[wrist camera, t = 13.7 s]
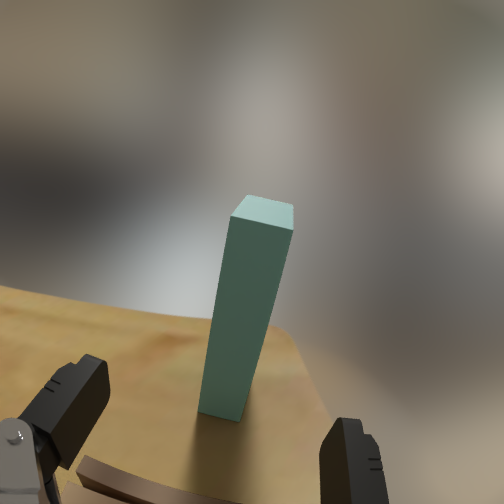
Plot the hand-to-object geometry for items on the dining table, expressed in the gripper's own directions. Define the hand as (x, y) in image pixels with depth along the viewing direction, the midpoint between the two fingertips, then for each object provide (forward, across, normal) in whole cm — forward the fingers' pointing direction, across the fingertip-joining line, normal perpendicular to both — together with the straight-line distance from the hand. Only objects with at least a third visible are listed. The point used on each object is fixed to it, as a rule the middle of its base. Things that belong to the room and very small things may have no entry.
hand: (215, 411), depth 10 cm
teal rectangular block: (+10, 0, +10) cm, 14 cm away
